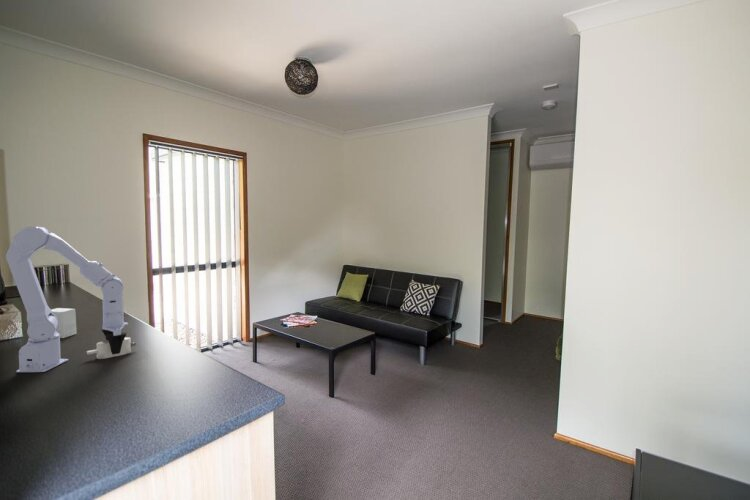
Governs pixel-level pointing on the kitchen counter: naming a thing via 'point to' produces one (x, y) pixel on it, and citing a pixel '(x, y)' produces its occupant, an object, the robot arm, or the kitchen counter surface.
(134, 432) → the kitchen counter surface
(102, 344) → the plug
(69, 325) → the small box
